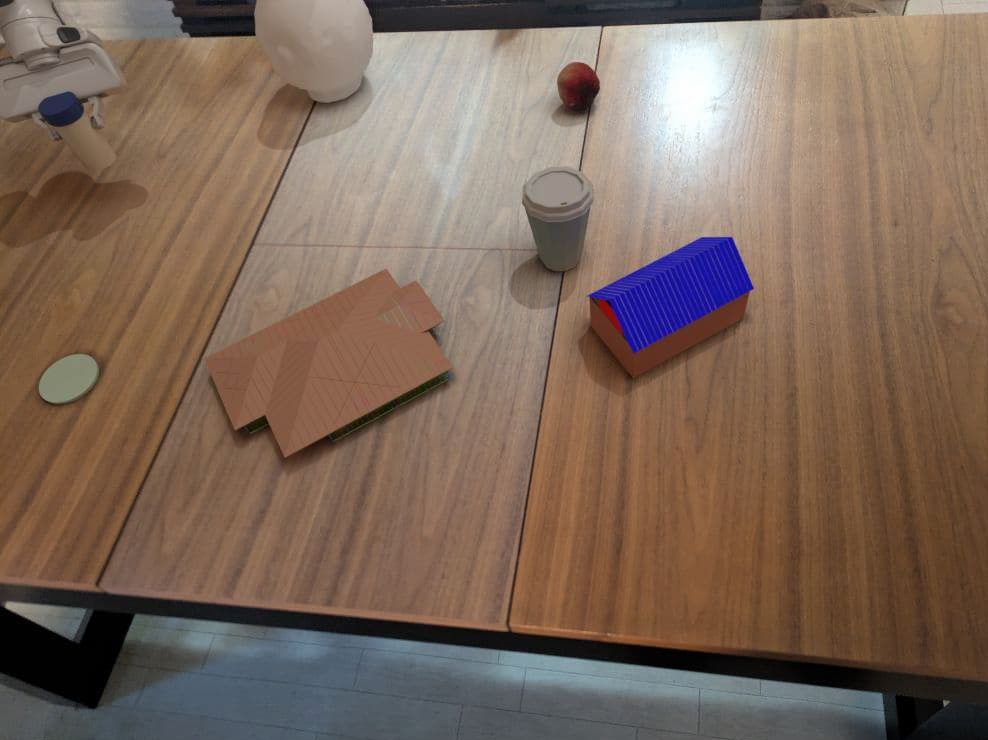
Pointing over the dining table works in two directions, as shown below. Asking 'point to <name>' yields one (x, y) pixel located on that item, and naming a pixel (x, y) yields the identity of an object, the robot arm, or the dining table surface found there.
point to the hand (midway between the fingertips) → (79, 134)
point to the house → (671, 303)
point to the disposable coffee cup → (558, 214)
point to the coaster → (69, 379)
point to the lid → (61, 109)
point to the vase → (316, 44)
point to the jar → (87, 143)
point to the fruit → (578, 85)
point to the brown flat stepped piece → (332, 362)
